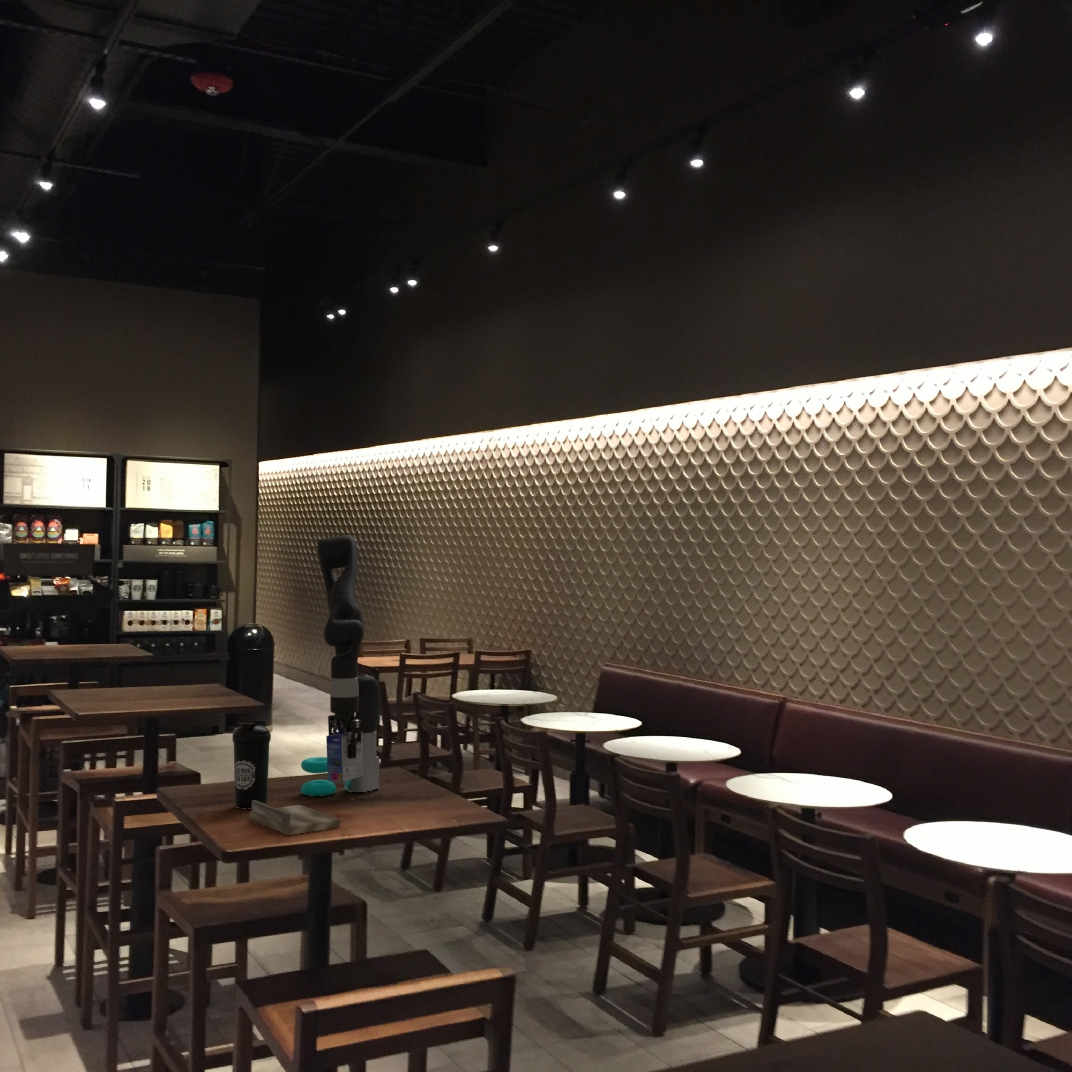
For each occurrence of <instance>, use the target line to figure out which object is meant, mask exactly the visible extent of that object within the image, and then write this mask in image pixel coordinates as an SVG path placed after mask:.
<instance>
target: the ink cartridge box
mask: <svg viewBox="0 0 1072 1072" xmlns="http://www.w3.org/2000/svg"><path fill="white" fill-rule="evenodd" d="M336 727H337V729H338V733H335V734H332V735H329V734H328V735H326V740H325V741H326V757H327V772H326V773H327V780H328V781H331V782H333V783H344V782H345V781H348V780H350V779H353V778H357V777H360V776H363V745H362V731H361V742H358V743H357V744H356V758H352V759H349V758H348V743H347V736H346V735H344V734H343V733H342V731H341V729H339V727H340V725H339V724H337V725H336ZM356 736H357V737H358V733H357V734H356ZM350 739H351V736H350Z"/></svg>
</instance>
